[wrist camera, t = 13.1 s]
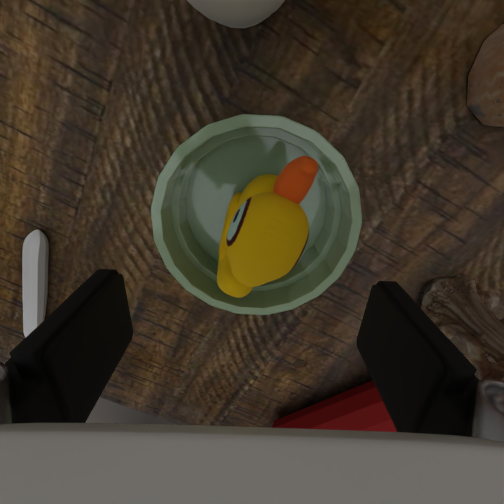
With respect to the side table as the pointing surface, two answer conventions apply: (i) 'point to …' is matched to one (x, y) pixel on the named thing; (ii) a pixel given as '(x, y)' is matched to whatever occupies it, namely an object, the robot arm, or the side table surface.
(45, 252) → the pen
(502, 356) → the figurine
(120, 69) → the side table surface
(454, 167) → the side table surface
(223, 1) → the cup
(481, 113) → the vase
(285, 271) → the duckling
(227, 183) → the bowl
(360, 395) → the shotgun shell
